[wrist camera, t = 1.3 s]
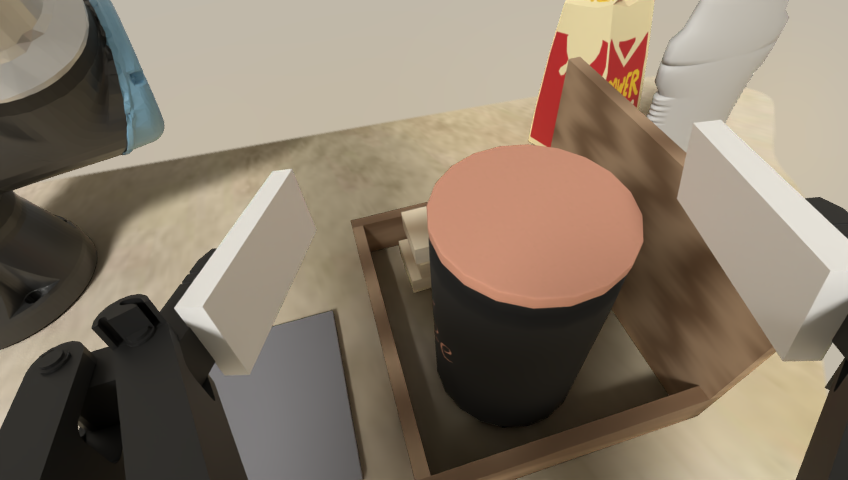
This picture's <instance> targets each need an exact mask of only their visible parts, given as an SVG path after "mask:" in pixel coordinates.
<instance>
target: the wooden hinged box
mask: <svg viewBox="0 0 848 480" xmlns="http://www.w3.org/2000/svg"><path fill="white" fill-rule="evenodd" d="M551 147H553V148H559V149H562V150H565V151H568V152H571V153H574V154H577V155H580V156H583V157H586V158H588V159H589V160H591V161H593V162H595V163H596V164H598V165H600V166H601V167H603V168H605V169H606V170H608V171H610V172H611V173H612V174H613V175H614V176H615V177H616V178H617V179H618V180H619V181H620V182H621V183H622V184H623V185H624V186H625V187H626V188H627V189H628V190H629V191H630V192H631V193H632V195H633V197H634V199H635V201H636V203H637V205H638V207H639V209H640V211H641V213H642V218H643V241H644V242H643V245H642V247H641V249H640V251H639V253H638V255H637V258H636V260H635V262H634V264H633V266H632V268H631V269H630V271H629V272H628V274H627V277H626V279H625V281H624V283H623V285H622V288H621V290H620V292H619V294H618V296H617V298H616V300H615V302H614V304H613V306H612V308H611V309H612V311H613V312H614V314H615V315H616V317H617V318H618V320H619V321H620V323H621V324H622V326H623V327H624V329H625V330H626V332H627V333H628V335H629V336H630V338H631V339H632V341H633V342H634V344H635V345H636V347H637V348H638V350H639V351H640V353H641V354H642V356H643V357H644V359H645V360H646V362H647V363H648V365H649V366H650V368H651V369H652V371H653V372H654V374H655V375H656V377H657V378H658V380H659V381H660V383H661V384H662V386H663V387H664V389H665V390H666V392H667V393H668V395H669V396H667V397H664V398H661V399H658V400H655V401H652V402H649V403H646V404H643V405H640V406H637V407H634V408H631V409H628V410H625V411H622V412H619V413H616V414H614V415H611V416H608V417H605V418H602V419H599V420H596V421H593V422H590V423H587V424H584V425H581V426H578V427H575V428H572V429H569V430H566V431H563V432H560V433H557V434H554V435H551V436H548V437H545V438H542V439H539V440H536V441H533V442H530V443H527V444H524V445H521V446H518V447H515V448H512V449H509V450H506V451H503V452H500V453H497V454H494V455H491V456H488V457H485V458H482V459H480V460H477V461H474V462H471V463H468V464H465V465H462V466H459V467H456V468H453V469H450V470H447V471H444V472H441V473H438V474H435V475H432V476H431V475H430V471H429V468H428V464H427V460H426V457H425V453H424V449H423V446H422V442H421V438H420V435H419V431H418V427H417V423H416V420H415V416H414V412H413V409H412V405H411V401H410V398H409V394H408V390H407V387H406V383H405V379H404V375H403V372H402V368H401V364H400V361H399V357H398V353H397V350H396V346H395V342H394V338H393V335H392V331H391V327H390V324H389V320H388V316H387V313H386V309H385V305H384V302H383V298H382V294H381V290H380V287H379V283H378V279H377V276H376V272H375V268H374V265H373V261H372V257H371V254H370V252H373V251H376V250H380V249H384V248H388V247H392V246H396V245H399V241H401V240H405V239H407V237H406V234H405V231H404V228H403V222H402V215H401V212H405V211H409V210H413V209H417V208H421V207H425V206H427V204H428V202H425V203H421V204H417V205H413V206H409V207H405V208H400V209H396V210H392V211H388V212H384V213H380V214H376V215H372V216H368V217H363V218H359V219H355V220H351V224H352V229H353V233H354V237H355V241H356V245H357V249H358V253H359V257H360V261H361V265H362V269H363V273H364V277H365V281H366V285H367V289H368V293H369V297H370V301H371V305H372V309H373V313H374V317H375V321H376V325H377V329H378V334H379V338H380V342H381V346H382V350H383V354H384V358H385V362H386V366H387V370H388V374H389V378H390V382H391V386H392V390H393V394H394V398H395V402H396V406H397V410H398V414H399V418H400V422H401V426H402V430H403V434H404V438H405V443H406V447H407V451H408V455H409V459H410V463H411V467H412V471H413V475H414V479H415V480H514V479H517V478H520V477H523V476H525V475H528V474H531V473H534V472H537V471H540V470H543V469H546V468H549V467H551V466H554V465H557V464H560V463H563V462H566V461H569V460H572V459H574V458H577V457H580V456H583V455H586V454H589V453H592V452H595V451H598V450H600V449H603V448H606V447H609V446H612V445H615V444H618V443H621V442H623V441H626V440H629V439H632V438H635V437H638V436H641V435H644V434H647V433H649V432H652V431H655V430H658V429H661V428H664V427H667V426H670V425H673V424H675V423H678V422H681V421H684V420H687V419H690V418H693V417H696V416H698V415H699V414H700V413H702V412H703V411H704V410H705V409H706V408H708V407H709V406H710V405H711V404H713V403H714V402H715V401H716V400H717V399H719V398H720V397H721V396H722V395H724V394H725V393H726V392H727V391H729V390H730V389H731V388H732V387H733V386H735V385H736V384H737V383H738V382H740V381H741V380H742V379H743V378H744V377H746V376H747V375H748V374H749V373H751V372H752V371H753V370H754V369H755V368H757V367H758V366H759V365H760V364H762V363H763V362H764V361H765V360H767V359H768V358H769V357H770V356H771V355H773V354H774V353H775V352H776V350H775V349H774V347H773V346H772V344H771V343H770V341H769V339H768V338H767V336H766V335H765V333H764V332H763V330H762V329H761V327H760V326H759V324H758V323H757V321H756V319H755V318H754V316H753V315H752V313H751V312H750V310H749V309H748V307H747V306H746V304H745V303H744V301H743V299H742V298H741V296H740V295H739V293H738V292H737V290H736V289H735V287H734V286H733V284H732V283H731V281H730V279H729V278H728V276H727V275H726V273H725V272H724V270H723V269H722V267H721V266H720V264H719V263H718V261H717V259H716V258H715V256H714V255H713V253H712V252H711V250H710V249H709V247H708V246H707V244H706V243H705V241H704V240H703V238H702V236H701V235H700V233H699V232H698V230H697V229H696V227H695V226H694V224H693V223H692V221H691V220H690V218H689V216H688V215H687V213H686V212H685V210H684V209H683V207H682V206H681V204H680V203H679V201H678V200H677V196H678V191H679V187H680V182H681V177H682V172H683V168H684V163H685V158H686V154H687V153H686V152H685V151H684V150H683V149H682V148H680V147H679V146H678V145H677V144H676V143H675V142H674V141H673V140H672V139H671V138H669V137H668V136H667V135H666V134H665V133H664V132H663V131H662V130H661V129H659V128H658V127H657V126H656V125H655V124H654V123H653V122H652V121H651V120H650V119H648V118H647V117H646V116H645V115H644V114H643V113H642V112H641V111H640V110H638V109H637V108H636V107H635V106H634V105H633V104H632V103H631V102H630V101H629V100H627V99H626V98H625V97H624V96H623V95H622V94H621V93H620V92H619V91H617V90H616V89H615V88H614V87H613V86H612V85H611V84H610V83H609V82H608V81H606V80H605V79H604V78H603V77H602V76H601V75H600V74H599V73H598V72H596V71H595V70H594V69H593V68H592V67H591V66H590V65H589V64H588V63H587V62H585V61H584V60H583V59H582V58H581V57H576V58H571V59H569V60H568V65H567V70H566V75H565V80H564V84H563V89H562V94H561V99H560V104H559V109H558V114H557V119H556V123H555V128H554V133H553V138H552V143H551Z"/></svg>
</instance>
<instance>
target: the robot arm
mask: <svg viewBox="0 0 848 480" xmlns="http://www.w3.org/2000/svg"><path fill="white" fill-rule="evenodd" d="M163 131H164V121H163V118H162V115H161V112H160V110H159V107H158V105H157V103H156V100H155V98H154V95H153V93H152V91H151V89H150V86H149V84H148V82H147V80H146V78H145V76H144V74H143V70H142V68H141V66H140V64H139V61H138V59H137V56H136V54H135V52H134V49H133V47H132V45H131V43H130V40H129V38H128V36H127V34H126V32H125V30H124V27H123V25H122V23H121V21H120V18H119V16H118V14H117V12H116V10H115V8H114V6H113V4H112V2H111V1H110V0H0V349H2V348H5V347H8V346H10V345H12V344H15V343H17V342H19V341H21V340H23V339H25V338H27V337H29V336H31V335H32V334H34V333H36V332H37V331H39V330H40V329H42V328H44V327H45V326H46V325H48V324H49V323H51V322H52V321H53V320H55V319H56V318H57V317H58V316H60V315H61V314H62V313H63V312H64V311H65V310H66V309H67V308H68V307H69V306H70V305H71V304H72V303H73V302H74V301H75V300H76V299H77V298H78V297H79V296H80V294H81V293H82V292H83V290H84V289H85V287H86V286H87V284H88V283H89V281H90V279H91V277H92V275H93V273H94V270H95V267H96V262H97V251H96V248H95V245H94V243H93V242H92V241H91V239H90V238H89V237H88V236H87V235H86V234H85V233H84V232H83V231H82V230H81V229H80V228H79V227H78V226H77V225H75V224H74V223H72V222H71V221H69V220H67V219H64V218H62V217H60V216H56V215H53V214H51V213H50V212H48V211H46V210H44V209H42V208H41V207H39V206H37V205H35V204H33V203H31V202H29V201H28V200H26V199H24V198H22V197H20V196H18V195H17V194H15V193H14V192H13V190H15V189H18V188H21V187H24V186H27V185H30V184H33V183H36V182H39V181H42V180H45V179H48V178H51V177H54V176H57V175H59V174H63V173H66V172H69V171H72V170H75V169H79V168H82V167H85V166H88V165H91V164H94V163H97V162H100V161H104V160H107V159H110V158H113V157H116V156H119V155H126V154H129V153H130V152H131V151H132V150H133V149H136V148H138V147H141V146H143V145H146V144H148V143H151V142H154V141H155V140H157V139H158V138H159V137H160V136H161V135H162V133H163ZM677 200H678V201H679V203H680V204H681V206H682V207H683V209H684V210H685V212H686V213H687V215H688V216H689V218H690V220H691V221H692V223H693V224H694V226H695V227H696V229H697V230H698V232H699V233H700V235H701V236H702V238H703V240H704V241H705V243H706V244H707V246H708V247H709V249H710V250H711V252H712V253H713V255H714V256H715V258H716V259H717V261H718V263H719V264H720V266H721V267H722V269H723V270H724V272H725V273H726V275H727V276H728V278H729V279H730V281H731V283H732V284H733V286H734V287H735V289H736V290H737V292H738V293H739V295H740V296H741V298H742V299H743V301H744V303H745V304H746V306H747V307H748V309H749V310H750V312H751V313H752V315H753V316H754V318H755V319H756V321H757V323H758V324H759V326H760V327H761V329H762V330H763V332H764V333H765V335H766V336H767V338H768V339H769V341H770V343H771V344H772V346H773V347H774V349H775V350H776V352H777V353H778V355H779V356H780V358H781V359H782V361H816V360H822V359H823V358H824V356H825V354H826V353H827V351H828V349H829V348H830V346H831V344H832V343H834V344H835V346H836V347H837V348H838V349H839V350H840V352H841V353H842V354H843V356H844V357H845V358H844V360H843V361H842V362H841V364H840V365H839V367H838V369H837V370H836V371H835V373H834V375H833V376H832V378H831V379H830V381H829V382H828V384H827V385H826V387H825V388H826V389H829V390H830V391H829V393H828V396H827V399H826V401H825V404H824V407H823V409H822V412H821V414H820V417H819V420H818V422H817V425H816V428H815V430H814V433H813V436H812V438H811V441H810V444H809V446H808V449H807V451H806V454H805V457H804V459H803V462H802V465H801V467H800V470H799V473H798V475H797V478H796V480H848V212H847V211H846V210H845V209H843V208H841V207H839V206H837V205H835V204H833V203H831V202H829V201H827V200H825V199H823V198H820V197H815V198H804V197H802V196H801V195H800V194H799V193H798V192H797V191H796V190H795V189H794V188H793V187H792V186H791V185H790V184H789V183H788V182H787V181H785V180H784V179H783V178H782V177H781V176H780V175H779V174H778V173H777V172H776V171H775V170H774V169H773V168H772V167H771V166H770V165H768V164H767V163H766V162H765V161H764V160H763V159H762V158H761V157H760V156H759V155H758V154H757V153H756V152H755V151H754V150H753V149H751V148H750V147H749V146H748V145H747V144H746V143H745V142H744V141H743V140H742V139H741V138H740V137H739V136H738V135H737V134H736V133H734V132H733V131H732V130H731V129H730V128H729V127H728V126H727V125H726V124H725V123H724V122H723V121H722V120H714V121H705V122H696V123H693V126H692V130H691V135H690V140H689V144H688V149H687V154H686V158H685V163H684V168H683V172H682V177H681V182H680V187H679V191H678V196H677ZM316 231H317V229H316V227H315V224H314V222H313V219H312V217H311V214H310V212H309V209H308V207H307V204H306V202H305V199H304V197H303V194H302V192H301V189H300V187H299V184H298V182H297V179H296V177H295V174H294V172H293V169H286V170H278V171H272V172H271V174H270V175H269V177H268V178H267V179H266V181H265V182H264V184H263V185H262V186H261V188H260V189H259V191H258V192H257V193H256V195H255V196H254V198H253V199H252V200H251V202H250V203H249V205H248V206H247V207H246V209H245V210H244V211H243V213H242V214H241V216H240V217H239V218H238V220H237V221H236V223H235V224H234V225H233V227H232V228H231V230H230V231H229V232H228V234H227V235H226V237H225V238H224V239H223V241H222V242H221V243H220V245H219V246H218V248H215V249H211V250H210V251H209V252H208V253H207V254H205V255H204V256H203V257H202V258H200V259H199V260H198V261H197V263H196V264H195V265H194V267H193V268H192V269H191V271H190V274H188V275H187V276H186V277H185V279H184V280H183V281H182V284H180V285H179V287H178V288H177V290H176V291H175V292H174V294H173V295H172V296H171V298H170V299H169V300H168V302H167V303H166V304H165V306H164V307H163V308H162V310H161V311H160V312H159V311H158V310H157V308H156V307H155V306H154V305H153V303H152V302H151V301H150V300H149V298H148V297H147V296H146V295H142V294H136V295H130V296H127V297H125V298H122V299H119V300H118V301H116V302H114V303H113V304H111V305H109V306H108V307H107V308H105V309H104V310H103V311H102V312H101V313H100V314H99V315H98V316H97V317H96V319H95V320H94V322H93V325H92V329H93V330H94V331H95V332H96V334H97V335H98V336H99V337H100V338H101V339H102V340H103V341H104V342H105V343H106V344H107V345H108V346H109V347H106V348H103V349H99V350H96V351H93V352H90V351H89V350H88V349H87V348H86V347H85V346H84V345H83V344H82V343H81V342H77V341H71V342H67V343H63V344H60V345H58V346H56V347H54V348H51V349H50V350H48V351H47V352H45V353H44V354H42V355H41V356H40V357H39V358H38V359H37V360H36V361H35V362H34V363H33V364H32V365H31V366H30V368H29V369H28V371H27V372H26V374H25V376H24V378H23V381H22V383H21V385H20V387H19V389H18V392H17V394H16V396H15V398H14V400H13V403H12V405H11V407H10V409H9V411H8V413H7V416H6V418H5V420H4V422H3V424H2V427H1V429H0V480H248V478H247V475H246V472H245V469H244V466H243V463H242V461H241V458H240V455H239V452H238V449H237V446H236V443H235V440H234V437H233V435H232V432H231V429H230V426H229V423H228V420H227V417H226V414H225V411H224V409H223V406H222V403H221V400H220V397H219V394H218V391H217V388H216V385H215V383H214V381H213V380H212V378H211V377H210V376H209V373H210V371H211V369H212V367H213V365H214V363H216V365H217V366H218V367H219V369H220V370H221V371H222V373H223V374H224V375H225V376H227V375H250V373H251V371H252V369H253V366H254V364H255V362H256V360H257V358H258V356H259V354H260V351H261V349H262V347H263V345H264V343H265V341H266V338H267V336H268V334H269V332H270V330H271V328H272V326H273V323H274V321H275V319H276V317H277V315H278V313H279V310H280V308H281V306H282V304H283V302H284V300H285V298H286V295H287V293H288V291H289V289H290V287H291V285H292V282H293V280H294V278H295V276H296V274H297V272H298V270H299V267H300V265H301V263H302V261H303V259H304V257H305V254H306V252H307V250H308V248H309V246H310V244H311V242H312V239H313V237H314V235H315V233H316ZM78 426H80V428H79V430H78Z"/></svg>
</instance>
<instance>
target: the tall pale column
mask: <svg viewBox="0 0 848 480" xmlns="http://www.w3.org/2000/svg"><path fill="white" fill-rule="evenodd" d="M788 1H789V0H700V1H699V3H698V5H697V6H696V8H695V10H694V11H693V13H692V15H691V16H690V18H689V20H688V21H687V23H686V25H685V26H684V28H683V29H682V30H681V31H680V32H679V33H678V34H676V35H675V36H674V37H673V38H672V39H671V40H670V41H669V43H668V45H667V48H666V50H665V53H664V56H663V58H662V61H661V63H660V66H659V69H658V72H657V75H656V79H655V83H656V86H657V89H658V91H657V92H656V93H655V94H654V96H653V99H652V102H653V103H652V104H651V105H650V107H651V108H650V109H649V114H648V115H647V118H648V119H650V120H651V121H652V122H653V123H654V124H655V125H656V126H657V127H658V128H659V129H661V130H662V131H663V132H664V133H665V134H666V135H667V136H668V137H669V138H671V139H672V140H673V141H674V142H675V143H676V144H677V145H678V146H679V147H680V148H682V149H683V150H684V151H685V152H686V153H687V149H688V144H689V140H690V135H691V130H692V126H693V123H696V122H705V121H714V120H722V121H723V122H724V123H726V120H727V119H728V116H729V115H730V113H731V111H732V109H733V107H734V106H735V104H736V103H737V100H738V99H739V97H740V95H741V93H742V92H743V89H744V88H745V87H746V85H747V83H748V82H749V80H750V79H751V77H752V76H753V73H754V72H755V71H756V70H757V69H758V68H759V67H760V66H761V64H762V63H763V62H764V61H765V59H766V57H767V56H768V54H769V53H770V51H771V50H772V48H773V46H774V45H775V43H776V41H777V39H778V37H779V35H780V34H781V31H782V30H783V28H784V26H785V25H786V23H787V21H788V19H789V16H788V14H787V12H786V10H785V9H786V7H787V3H788Z"/></svg>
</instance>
